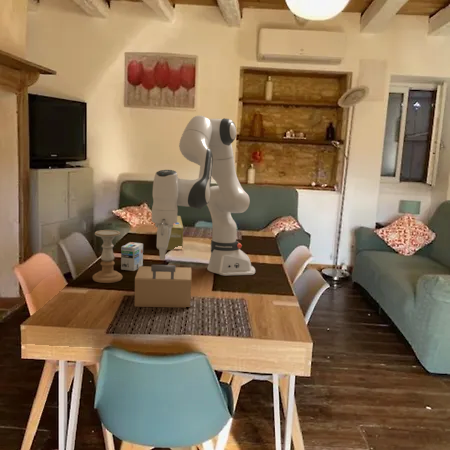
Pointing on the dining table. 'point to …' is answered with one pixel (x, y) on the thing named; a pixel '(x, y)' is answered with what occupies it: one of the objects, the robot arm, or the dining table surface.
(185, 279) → the cardboard box lid
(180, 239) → the soda box
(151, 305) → the carton
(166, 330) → the dining table surface
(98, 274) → the candle holder
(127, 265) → the light bulb box
